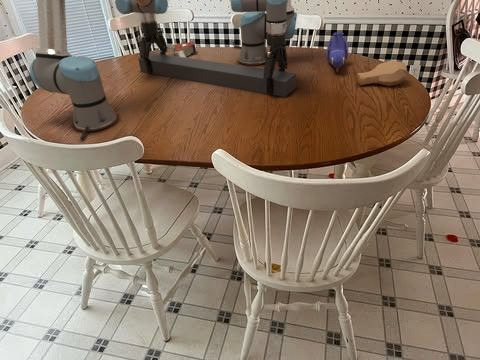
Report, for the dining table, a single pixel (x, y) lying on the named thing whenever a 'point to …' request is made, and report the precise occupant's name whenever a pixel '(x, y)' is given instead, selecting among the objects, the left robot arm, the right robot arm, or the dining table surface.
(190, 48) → the tape dispenser
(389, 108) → the dining table surface
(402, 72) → the squash
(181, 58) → the slab
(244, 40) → the right robot arm
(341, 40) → the toy
